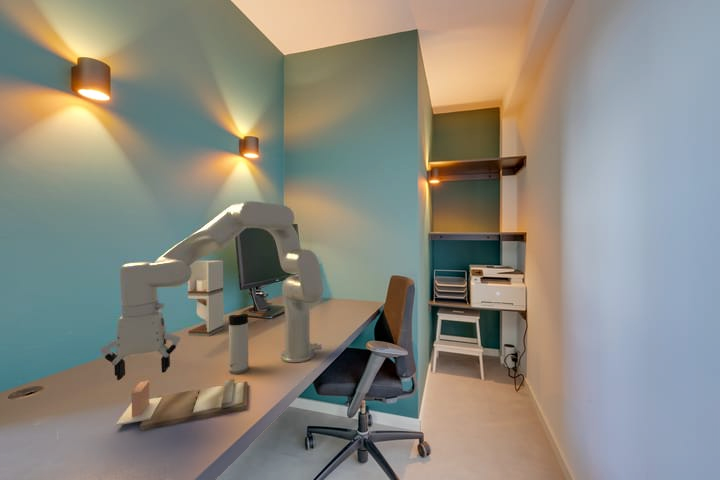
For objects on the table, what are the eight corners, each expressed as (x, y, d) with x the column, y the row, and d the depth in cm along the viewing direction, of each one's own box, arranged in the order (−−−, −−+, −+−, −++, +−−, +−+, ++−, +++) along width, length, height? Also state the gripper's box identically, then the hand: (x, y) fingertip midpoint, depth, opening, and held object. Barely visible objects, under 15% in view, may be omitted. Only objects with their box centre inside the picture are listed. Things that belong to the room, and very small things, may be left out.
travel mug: (229, 376, 97) (229, 317, 97) (228, 368, 103) (228, 312, 103) (249, 372, 100) (249, 314, 100) (247, 364, 106) (247, 310, 106)
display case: (204, 328, 150) (203, 260, 150) (223, 328, 149) (222, 260, 148) (188, 335, 139) (187, 262, 138) (208, 336, 137) (208, 262, 137)
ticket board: (247, 385, 92) (247, 376, 92) (246, 409, 78) (246, 399, 78) (157, 400, 83) (157, 390, 83) (140, 430, 70) (140, 419, 70)
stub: (162, 398, 82) (162, 375, 82) (150, 419, 72) (150, 393, 72) (132, 403, 79) (132, 380, 79) (116, 425, 70) (115, 399, 70)
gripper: (181, 302, 82) (184, 362, 83) (106, 310, 76) (109, 373, 77) (175, 309, 75) (178, 374, 76) (91, 317, 69) (95, 388, 70)
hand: (143, 373), depth 76 cm, fingers open, 9 cm apart
